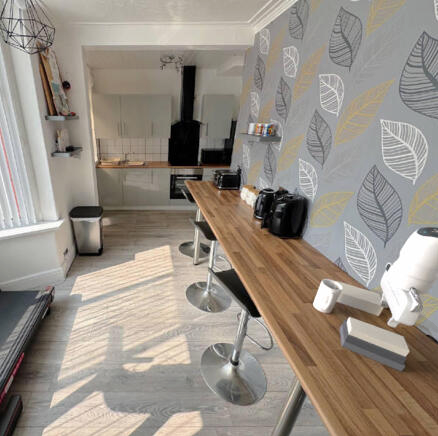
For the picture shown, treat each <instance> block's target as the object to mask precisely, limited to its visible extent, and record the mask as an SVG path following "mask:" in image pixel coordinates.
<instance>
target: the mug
mask: <svg viewBox="0 0 438 436" xmlns="http://www.w3.org/2000/svg"><path fill="white" fill-rule="evenodd" d="M336 281H337V280H336ZM336 281H335V280H333V279H330V278H323V279H322V280H321V282H320V285H319V286H318V289H317V293H316V295H315V297H314V300H313V303H312V305H313V308H314V309H315V310H317V311H318V312H321V313H324V314H330V313H332V312H333V309H334V307H335V305H336V304H337V302H336V301H337V299H338V297H339V295H340V294H341V291H342V289H343V287H342V286H341V285H340V284H339V283H338V282H336Z"/></svg>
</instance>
